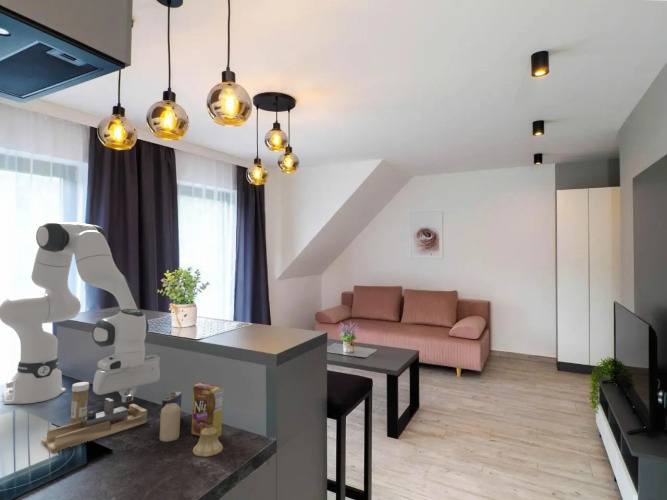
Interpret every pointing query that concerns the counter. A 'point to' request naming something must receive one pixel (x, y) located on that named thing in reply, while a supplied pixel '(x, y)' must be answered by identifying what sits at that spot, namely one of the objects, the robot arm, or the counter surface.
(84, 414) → the sprinkles bottle
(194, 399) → the candy box
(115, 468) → the counter surface
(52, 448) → the guide rail
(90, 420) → the sliding block with knob
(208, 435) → the hand bell
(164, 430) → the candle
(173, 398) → the flask
